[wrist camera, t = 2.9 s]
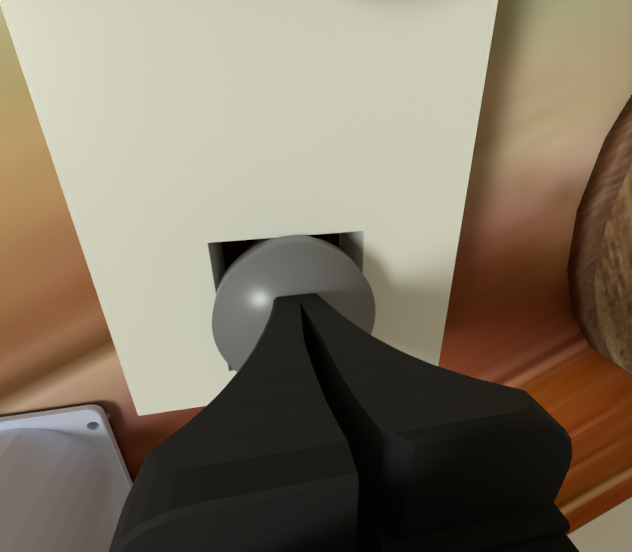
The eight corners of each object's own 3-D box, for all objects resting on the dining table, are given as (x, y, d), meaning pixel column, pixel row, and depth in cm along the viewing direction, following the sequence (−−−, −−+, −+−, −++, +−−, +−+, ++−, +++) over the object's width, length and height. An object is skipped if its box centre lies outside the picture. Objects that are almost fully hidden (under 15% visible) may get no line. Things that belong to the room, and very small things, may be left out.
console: (403, 326, 17) (437, 371, 14) (160, 357, 16) (138, 415, 12) (467, -299, 9) (583, -522, 6) (-41, -390, 7) (-264, -782, 4)
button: (346, 324, 15) (371, 376, 12) (229, 338, 14) (224, 397, 11) (348, 211, 13) (380, 239, 10) (211, 220, 12) (197, 253, 9)
